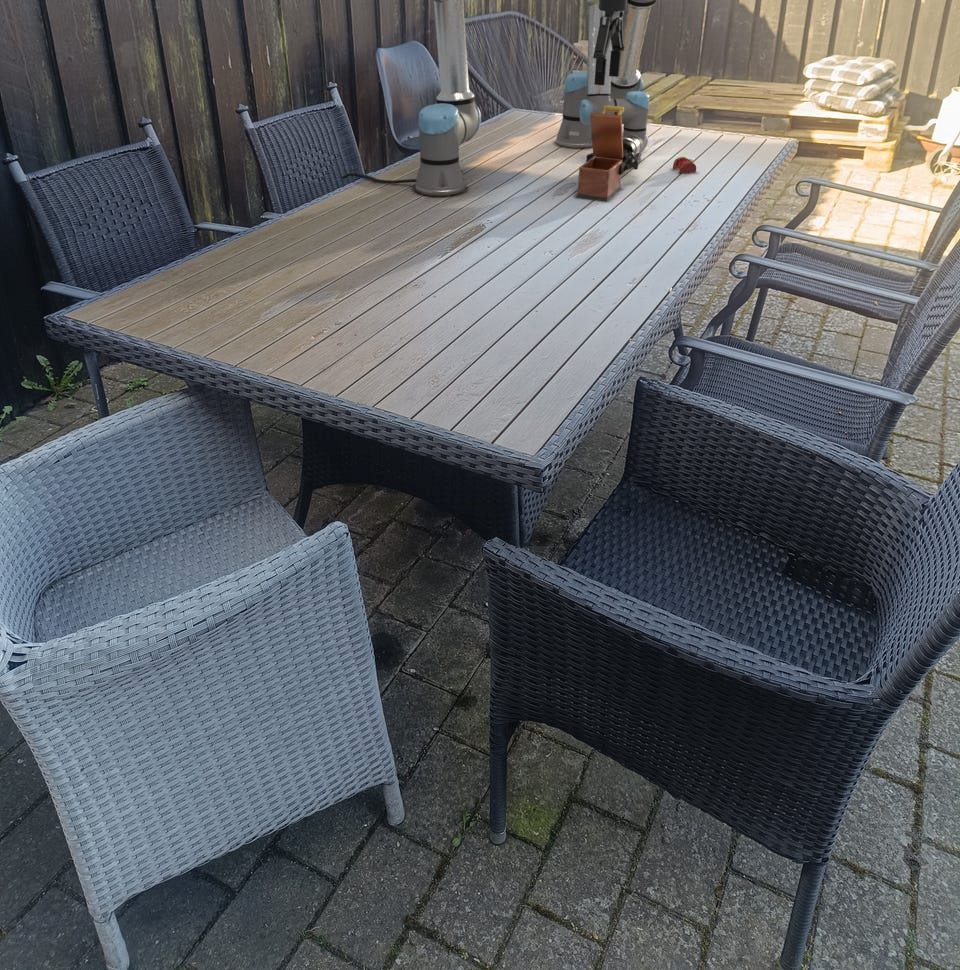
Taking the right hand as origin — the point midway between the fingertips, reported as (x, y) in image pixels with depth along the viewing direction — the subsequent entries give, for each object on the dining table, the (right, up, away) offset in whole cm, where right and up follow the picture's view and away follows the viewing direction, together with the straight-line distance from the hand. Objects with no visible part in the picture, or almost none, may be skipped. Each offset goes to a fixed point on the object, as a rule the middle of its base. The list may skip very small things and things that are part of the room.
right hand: (604, 168), depth 255 cm
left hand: (-2, +18, -18) cm, 26 cm away
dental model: (+29, +7, +20) cm, 36 cm away
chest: (-2, -7, +1) cm, 7 cm away
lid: (0, +7, -6) cm, 9 cm away
